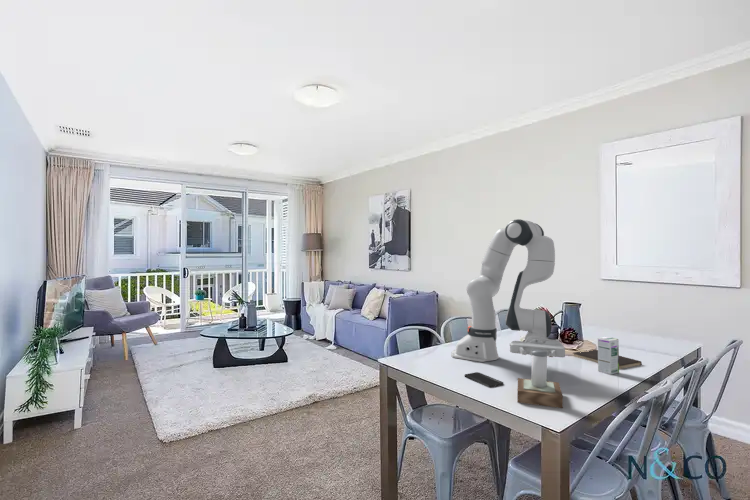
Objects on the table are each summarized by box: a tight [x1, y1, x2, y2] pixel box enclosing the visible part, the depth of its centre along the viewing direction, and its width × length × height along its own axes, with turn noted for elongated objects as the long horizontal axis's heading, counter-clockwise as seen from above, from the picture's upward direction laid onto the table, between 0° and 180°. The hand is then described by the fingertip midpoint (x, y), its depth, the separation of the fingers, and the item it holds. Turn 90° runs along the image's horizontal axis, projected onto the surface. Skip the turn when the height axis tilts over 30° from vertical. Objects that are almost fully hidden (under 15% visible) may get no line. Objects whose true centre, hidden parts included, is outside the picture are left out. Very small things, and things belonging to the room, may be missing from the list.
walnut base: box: [516, 377, 564, 409], centre depth 139 cm, size 14×14×4 cm
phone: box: [464, 371, 504, 388], centre depth 157 cm, size 8×1×15 cm
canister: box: [530, 349, 548, 388], centre depth 139 cm, size 5×5×12 cm
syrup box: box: [597, 336, 620, 376], centre depth 168 cm, size 6×6×14 cm
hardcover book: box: [572, 349, 643, 370], centre depth 186 cm, size 16×23×2 cm
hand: (537, 353), depth 150 cm, fingers open, 8 cm apart
